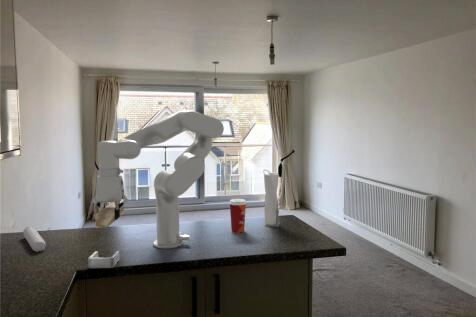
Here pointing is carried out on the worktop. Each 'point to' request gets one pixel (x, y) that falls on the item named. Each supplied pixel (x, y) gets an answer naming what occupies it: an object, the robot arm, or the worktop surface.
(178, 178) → the robot arm
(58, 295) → the worktop surface
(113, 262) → the cup bracket
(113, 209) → the maple rail
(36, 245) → the tube
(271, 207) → the white bottle gift bag
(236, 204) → the coffee cup
